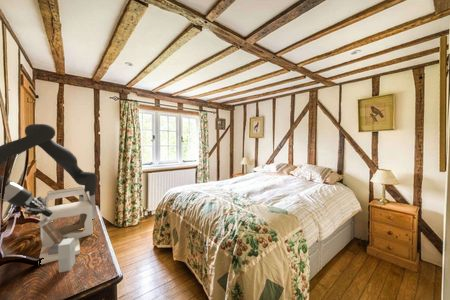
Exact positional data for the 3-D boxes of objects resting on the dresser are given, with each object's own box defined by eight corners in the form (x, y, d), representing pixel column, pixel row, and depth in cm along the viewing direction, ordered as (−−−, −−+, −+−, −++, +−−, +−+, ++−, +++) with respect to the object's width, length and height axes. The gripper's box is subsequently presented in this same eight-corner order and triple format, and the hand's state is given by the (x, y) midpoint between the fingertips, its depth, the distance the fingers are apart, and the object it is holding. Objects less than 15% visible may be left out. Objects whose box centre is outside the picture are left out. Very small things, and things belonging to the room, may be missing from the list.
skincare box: (63, 264, 89) (63, 238, 89) (75, 262, 91) (74, 237, 90) (58, 273, 84) (57, 245, 83) (70, 270, 85) (69, 243, 85)
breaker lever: (61, 241, 101) (43, 218, 98) (66, 238, 101) (48, 216, 99) (56, 246, 96) (37, 223, 93) (61, 243, 96) (42, 220, 93)
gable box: (42, 248, 102) (41, 195, 100) (40, 239, 110) (38, 190, 109) (93, 234, 118) (92, 187, 116) (87, 227, 127) (86, 184, 125)
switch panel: (41, 250, 100) (41, 239, 99) (78, 241, 109) (78, 231, 109) (38, 265, 89) (38, 252, 88) (80, 253, 98) (79, 241, 98)
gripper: (14, 195, 85) (52, 217, 93) (28, 182, 96) (61, 202, 104) (-2, 207, 83) (38, 228, 92) (14, 193, 95) (49, 212, 103)
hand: (50, 214), depth 98 cm, fingers closed
